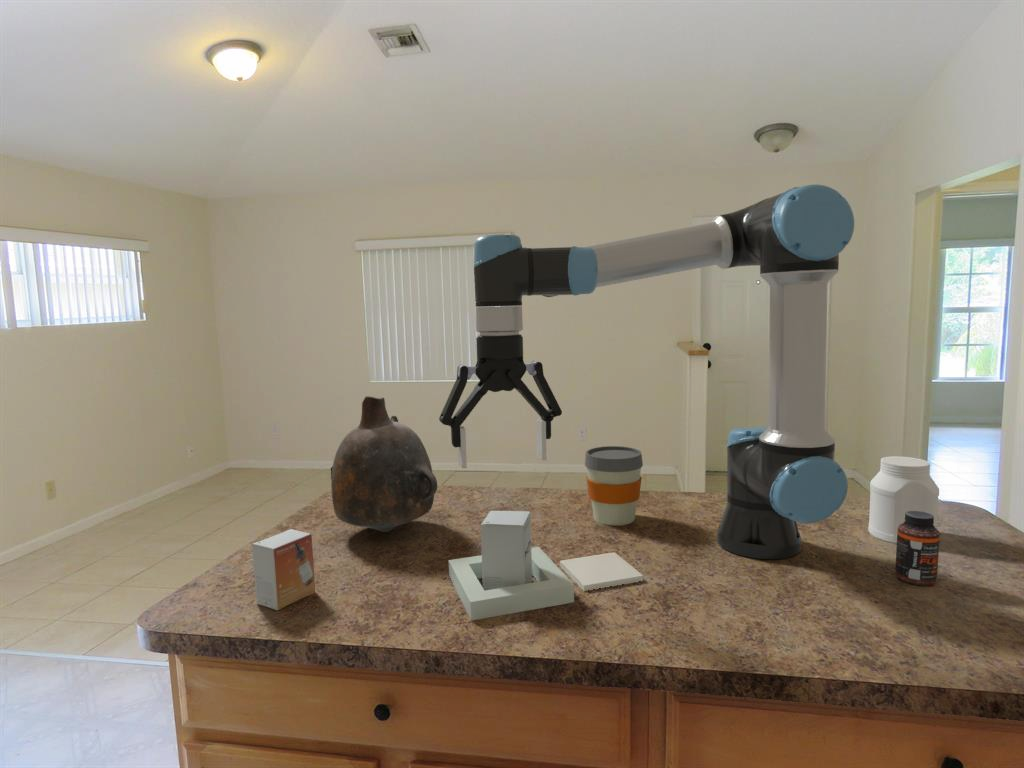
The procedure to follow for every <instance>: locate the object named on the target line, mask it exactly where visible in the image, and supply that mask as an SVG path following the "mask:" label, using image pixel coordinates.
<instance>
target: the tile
mask: <svg viewBox="0 0 1024 768" xmlns="http://www.w3.org/2000/svg"><path fill="white" fill-rule="evenodd" d="M559 566H560V568H561V569H562V570H563V571H564V572H565V573H566V574H567V576H569V577H570V578H571V579H572V581H573V582H574V583H577V584H578V587H579V588H580V587H581V588H580V589H581V590H582V589H583V590H582V591H583V592H588V590H589V591H593V589H595V590H599V588H601V589H606V588H611V587H610V586H612V587H616V586H617V585H618V586H622V584H624V585H628V584H633V583H634V582H635V583H639V581H641V582H644V575H643V574H642V573H641V572H639V571H638V570H637V569H636V568H634V567H633V566H632V565H631V564H630V563H629V562H627V561H626V560H625V559H623V558H622V557H621V556H620V555H619V554H617V553H616V552H614V551H613V552H607V553H602V554H601V553H600V554H595V555H594V554H593V555H587V556H581V557H574V558H569V559H563V560H559ZM577 584H576V585H577ZM618 586H617V587H618ZM605 587H606V588H605Z"/></svg>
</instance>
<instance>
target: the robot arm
mask: <svg viewBox="0 0 1024 768" xmlns="http://www.w3.org/2000/svg"><path fill="white" fill-rule="evenodd" d="M854 230H855V217H854V213H853V209H852V206H851V205H850V202H848V200H847V199H846V198H845V197H844V196H843V195H842V194H841V193H840V192H839V191H838V190H836V189H834V188H832V187H830V186H827V185H825V184H807V185H802V186H794V187H792V188H790V189H788V190H785V191H784V192H782V193H779V194H777V195H773V196H771V197H768V198H765V199H762V200H761V201H757V202H755V203H754V204H751V205H749V206H747V207H744V208H741V209H738V210H735V211H733V212H729V213H724V214H719V215H716V216H714V217H713V218H712V220H711V222H708V223H703V224H698V225H692V226H688V227H687V226H686V227H683V228H678V229H672V230H671V229H670V230H667V231H661V232H656V233H650V234H645V235H641V236H635V237H631V238H626V239H620V240H615V241H610V242H604V243H599V244H594V245H589V246H584V247H580V246H575V245H574V246H566V247H564V246H563V247H539V248H538V247H537V248H535V247H534V248H533V247H532V248H531V247H523V244H522V241H521V238H520V236H518V235H515V234H504V233H503V234H501V233H500V234H487V235H481V236H479V237H477V238H476V240H475V241H474V244H473V247H474V248H473V274H474V275H473V276H474V277H473V279H474V280H473V281H474V299H475V300H474V302H475V331H476V332H477V333H479V335H477V337H476V339H475V340H476V345H475V346H476V363H475V366H469V365H464V364H459V365H458V366H457V371H456V380H455V381H454V384H453V386H452V388H451V390H450V393H449V395H448V397H447V399H446V402H445V404H444V406H443V409H442V411H441V413H440V415H439V417H438V420H439V422H440V423H441V424H442V425H444V426H448V427H450V431H451V432H450V435H451V444H452V445H451V446H453V448H457V455H458V456H457V457H458V459H457V460H458V466H460V468H461V469H467V468H468V467H467V465H468V464H467V462H468V461H467V438H466V437H467V436H466V433H467V432H466V427H465V426H464V425H462V424H463V423H464V422H465V420H467V418H468V417H469V416H470V414H471V413H472V411H473V410H474V409H475V407H476V406H477V404H479V402H480V401H481V400H482V398H483V397H484V396H485V395H486V394H487V393H488V392H489V391H490V392H493V393H498V392H501V391H505V392H512V391H513V390H514V389H515V390H516V391H517V392H518V393H519V394H520V395H521V397H522V398H524V399H525V400H526V402H527V404H529V405H530V407H531V408H533V410H534V411H535V412H536V413H537V414H538V415H539V417H540V418H537V419H535V424H536V425H535V426H536V427H535V428H536V431H535V432H536V434H535V436H536V457H537V459H540V460H541V461H547V440H551V438H552V422H553V420H554V418H557V417H560V416H561V415H562V414H563V413H562V412H563V411H562V409H561V407H560V404H559V402H558V401H557V399H556V396H555V395H554V393H553V390H552V388H551V387H550V385H549V383H548V380H547V379H546V378H545V375H544V369H543V367H544V366H543V363H542V362H541V361H537V360H533V361H531V362H528V363H525V362H524V337H523V335H522V334H520V332H522V330H523V328H524V327H523V324H524V323H523V321H524V320H523V302H522V300H523V296H528V297H529V296H530V297H531V296H542V297H546V298H552V297H558V296H579V295H591V294H592V293H594V292H595V290H596V288H600V287H606V286H611V285H616V284H623V283H627V282H631V281H632V282H633V281H639V280H643V279H648V278H654V277H658V276H665V275H670V274H675V273H679V272H681V273H682V272H685V271H689V270H690V271H691V270H696V269H701V268H706V267H711V266H717V267H719V268H720V269H722V270H725V269H730V268H737V267H747V266H748V267H749V266H759V276H760V277H761V278H762V280H764V281H765V282H766V283H767V284H768V286H769V341H768V342H769V343H768V344H769V346H768V347H769V354H768V355H769V356H768V357H769V359H768V363H769V365H768V366H769V367H768V378H769V380H768V426H750V427H740V428H739V427H738V428H733V429H731V431H730V432H729V433H728V436H727V444H726V449H727V454H726V455H727V456H726V457H727V458H726V459H727V462H726V463H727V464H726V465H727V466H726V467H727V468H726V470H727V471H726V472H727V473H726V474H727V476H726V477H727V478H726V479H727V482H726V486H727V487H726V489H727V491H726V495H727V496H726V499H727V500H726V506H725V508H724V511H723V514H722V516H721V517H722V518H721V521H720V524H719V526H718V528H717V533H716V534H717V535H716V536H717V540H716V541H717V544H718V545H719V546H720V547H721V548H723V549H724V550H726V551H727V552H730V553H732V554H735V555H739V556H742V557H746V558H752V559H757V560H758V559H761V560H781V559H789V558H791V557H794V556H796V555H798V554H799V553H800V552H801V550H802V536H801V534H800V530H799V527H798V523H800V524H814V523H819V522H822V521H824V520H827V519H829V518H830V517H831V516H832V515H833V514H834V513H835V512H836V511H838V510H839V509H840V508H841V506H842V505H843V504H844V501H845V499H846V498H847V495H848V490H849V489H848V488H849V484H848V483H849V482H848V478H847V474H846V473H845V471H844V469H843V468H842V467H841V465H840V464H839V463H838V462H836V461H835V452H836V451H835V450H836V449H835V446H836V445H835V444H836V441H835V438H834V437H833V436H832V435H831V434H830V433H829V432H828V431H827V430H826V427H825V425H826V423H825V422H826V421H825V420H826V385H827V384H826V376H827V373H826V372H827V371H826V370H827V368H826V367H827V326H828V323H827V322H828V320H827V319H828V318H827V317H828V284H829V282H830V280H831V279H833V277H835V276H836V274H838V273H839V266H840V265H839V264H840V263H839V262H840V260H839V259H840V257H839V256H840V253H842V252H843V251H844V249H845V248H846V247H847V245H849V243H850V242H851V240H852V237H853V235H854ZM526 372H528V374H529V375H530V376H532V378H533V380H534V382H535V384H536V387H537V389H538V390H539V392H540V394H541V396H542V398H543V400H544V402H545V404H546V406H547V408H546V407H545V406H544V405H543V404H542V402H541V401H540V400H539V399H538V398H537V396H536V395H535V394H533V392H532V391H531V390H530V389H529V387H528V385H526V383H525V382H524V381H523V380H522V378H523V377H524V375H525V373H526ZM474 374H475V376H476V377H477V379H478V380H479V381H478V382H477V384H475V385H474V386H475V387H474V389H472V391H471V393H470V394H469V396H468V397H467V398H466V400H465V401H464V402H463V403H462V405H461V406H460V407H459V409H457V406H458V404H459V401H460V399H461V397H462V395H463V393H464V390H465V388H466V386H467V384H468V380H471V378H472V376H473V375H474ZM456 409H457V411H456V412H455V410H456ZM454 413H455V414H454Z"/></svg>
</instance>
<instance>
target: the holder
mask: <svg viewBox="0 0 1024 768" xmlns="http://www.w3.org/2000/svg"><path fill="white" fill-rule="evenodd" d="M531 554H532V577H533V576H534V577H535V578H536V579H535V578H534V577H533V578H534V579H535V580H536V581H535V582H531V583H528V584H522V585H516V586H510V587H504V588H498V589H492V590H486V591H484V589H483V585H482V584H481V582H480V581H479V579H477V578H481V577H482V554H481V555H475V556H468V557H467V556H466V557H460V558H455V559H449V560H447V561H448V576H450V577H449V579H450V578H451V579H450V581H451V580H452V581H451V583H452V582H453V583H452V585H453V587H454V586H455V587H454V589H455V591H456V593H457V595H458V597H459V599H460V602H461V603H462V605H463V607H464V609H465V611H466V613H467V615H468V617H469V619H470V621H471V622H473V621H476V620H483V619H488V618H493V617H500V616H505V615H511V614H517V613H521V612H522V613H523V612H528V611H533V610H538V609H543V608H549V607H556V606H561V605H566V604H573V603H575V585H574V583H573V582H572V581H571V579H569V578H568V577H567V576H566V575H565V574H564V572H563V571H562V570H561V569H560V568H559V567H558V566H557V565H556V564H555V563H554V562H553V560H551V558H550V557H549V556H548V555H547V554H546V553H545V552H544V551H543V550H542V549H541V547H540V546H535V547H531ZM537 581H538V582H537Z"/></svg>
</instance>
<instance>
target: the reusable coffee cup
mask: <svg viewBox="0 0 1024 768" xmlns="http://www.w3.org/2000/svg"><path fill="white" fill-rule="evenodd" d="M584 459H585V460H584V466H585V467H586V472H587V476H585V477H586V485H587V486H586V487H587V491H588V497H589V499H590V500H591V506H592V508H591V509H592V513H593V515H592V516H593V519H594V521H595V522H597V523H599V524H602V525H607V526H625V525H629V524H632V523H633V522H635V519H636V512H637V511H636V510H637V503H638V500H639V499H640V494H641V487H642V486H641V485H642V479H643V478H642V476H641V470H642V467H643V465H644V464H643V455H642V451H641V450H639V449H637V448H635V447H629V446H620V445H619V446H617V445H613V446H612V445H611V446H609V445H608V446H605V445H603V446H597V447H591V448H590V449H587V450H586V451H585V458H584Z"/></svg>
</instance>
